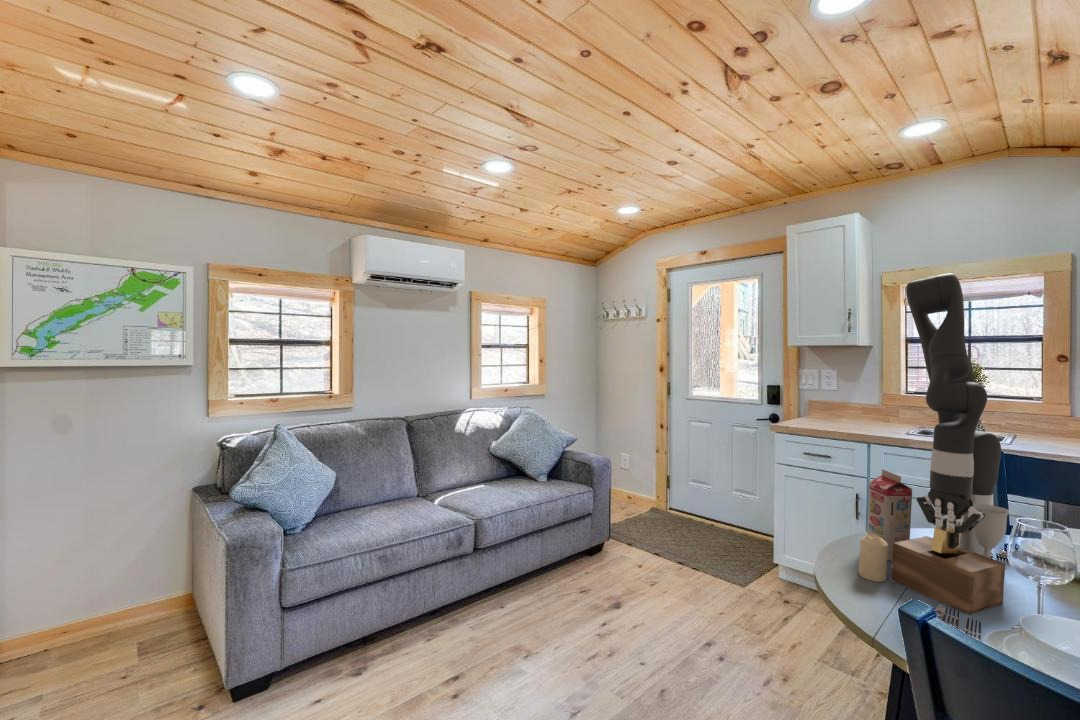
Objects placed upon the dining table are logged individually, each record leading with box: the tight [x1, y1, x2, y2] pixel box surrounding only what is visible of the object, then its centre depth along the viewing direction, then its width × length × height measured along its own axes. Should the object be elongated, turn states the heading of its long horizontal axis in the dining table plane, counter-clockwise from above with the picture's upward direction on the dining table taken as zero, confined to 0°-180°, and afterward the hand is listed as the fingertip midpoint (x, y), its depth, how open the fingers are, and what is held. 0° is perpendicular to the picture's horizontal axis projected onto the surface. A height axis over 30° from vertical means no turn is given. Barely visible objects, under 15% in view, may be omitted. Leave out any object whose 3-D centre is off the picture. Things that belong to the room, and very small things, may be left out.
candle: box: [858, 533, 888, 583], centre depth 124 cm, size 6×6×10 cm
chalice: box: [972, 504, 1011, 559], centre depth 121 cm, size 7×7×18 cm
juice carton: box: [866, 469, 913, 560], centre depth 136 cm, size 7×7×22 cm
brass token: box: [931, 527, 961, 553], centre depth 117 cm, size 2×5×6 cm
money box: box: [890, 535, 1006, 615], centre depth 117 cm, size 12×16×9 cm
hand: (947, 546), depth 117 cm, fingers closed on brass token, 1 cm apart
